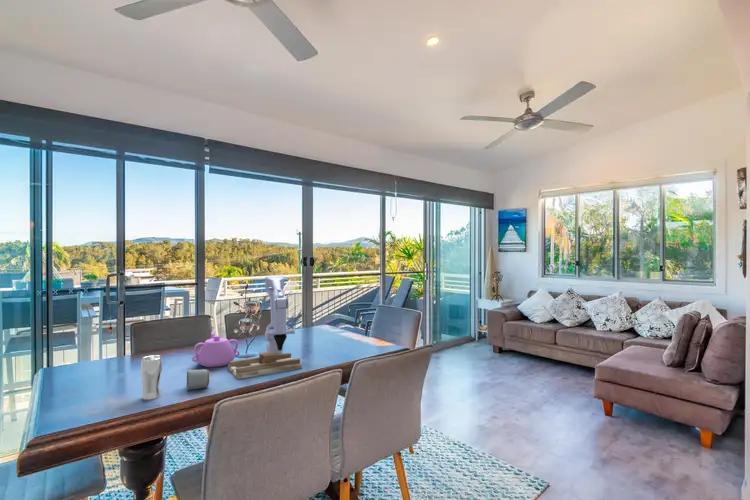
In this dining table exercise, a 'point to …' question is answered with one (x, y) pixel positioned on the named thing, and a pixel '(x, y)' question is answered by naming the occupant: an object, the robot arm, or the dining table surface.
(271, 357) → the walnut block
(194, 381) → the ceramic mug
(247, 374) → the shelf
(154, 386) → the beer glass
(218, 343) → the purple sugar bowl
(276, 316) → the robot arm
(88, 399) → the dining table surface
